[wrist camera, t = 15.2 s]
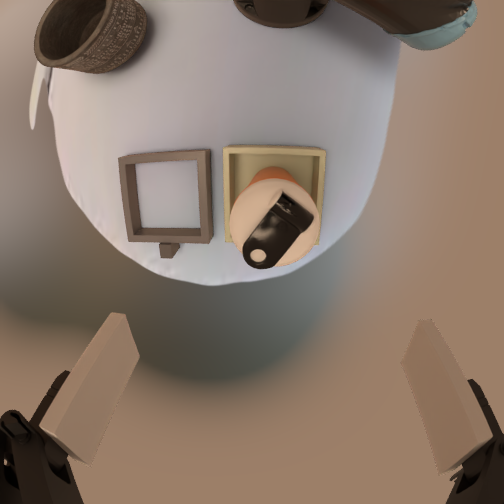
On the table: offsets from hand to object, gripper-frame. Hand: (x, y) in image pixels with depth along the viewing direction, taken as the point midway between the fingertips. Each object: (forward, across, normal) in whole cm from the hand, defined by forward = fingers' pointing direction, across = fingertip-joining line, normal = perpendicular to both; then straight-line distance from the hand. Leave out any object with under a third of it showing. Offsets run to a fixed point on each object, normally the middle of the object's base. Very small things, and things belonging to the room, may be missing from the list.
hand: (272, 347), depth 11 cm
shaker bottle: (+35, 0, -1) cm, 35 cm away
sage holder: (+35, 0, -1) cm, 35 cm away
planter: (+35, -26, +27) cm, 51 cm away
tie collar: (+35, -17, -3) cm, 39 cm away
